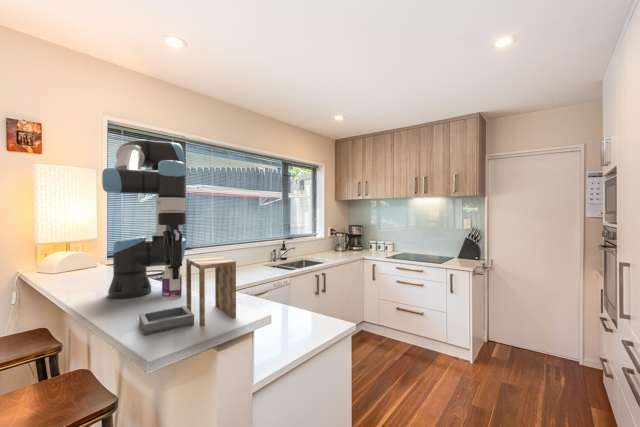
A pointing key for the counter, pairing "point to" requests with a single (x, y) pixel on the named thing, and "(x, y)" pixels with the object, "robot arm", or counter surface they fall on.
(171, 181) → the robot arm
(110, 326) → the counter surface
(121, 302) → the counter surface
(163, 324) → the tray
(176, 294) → the pill bottle
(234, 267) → the counter shelf
